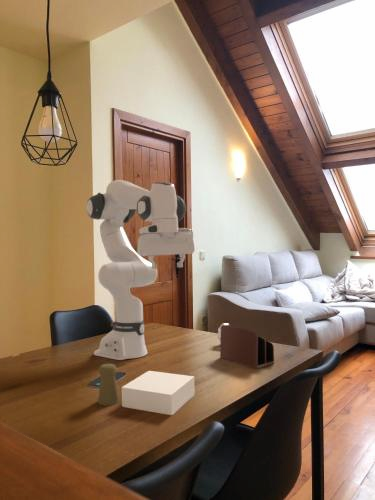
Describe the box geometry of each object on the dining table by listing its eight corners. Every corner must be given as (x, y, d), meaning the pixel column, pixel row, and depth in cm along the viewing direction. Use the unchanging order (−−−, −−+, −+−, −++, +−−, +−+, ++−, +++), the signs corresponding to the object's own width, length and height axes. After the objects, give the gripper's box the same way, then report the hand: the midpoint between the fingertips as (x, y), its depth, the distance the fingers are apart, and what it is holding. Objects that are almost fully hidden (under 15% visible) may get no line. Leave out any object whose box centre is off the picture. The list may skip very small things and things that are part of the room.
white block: (122, 407, 119) (121, 387, 119) (149, 388, 133) (148, 370, 133) (171, 416, 112) (171, 394, 112) (194, 395, 127) (194, 376, 127)
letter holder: (256, 369, 151) (256, 331, 150) (219, 357, 166) (219, 323, 166) (274, 364, 157) (274, 327, 156) (237, 353, 172) (236, 319, 172)
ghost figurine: (225, 341, 191) (225, 320, 191) (242, 345, 184) (241, 322, 184) (212, 345, 185) (212, 323, 184) (229, 349, 178) (229, 326, 178)
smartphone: (85, 384, 136) (109, 370, 150) (85, 387, 136) (109, 372, 150) (105, 386, 134) (128, 372, 148) (106, 389, 134) (128, 374, 148)
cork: (114, 406, 119) (113, 368, 119) (94, 404, 121) (93, 367, 120) (121, 398, 125) (120, 362, 125) (103, 396, 126) (102, 361, 126)
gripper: (188, 228, 150) (190, 266, 150) (134, 229, 141) (136, 269, 141) (196, 227, 144) (198, 266, 144) (140, 227, 136) (142, 269, 135)
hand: (167, 268), depth 143 cm, fingers open, 8 cm apart
